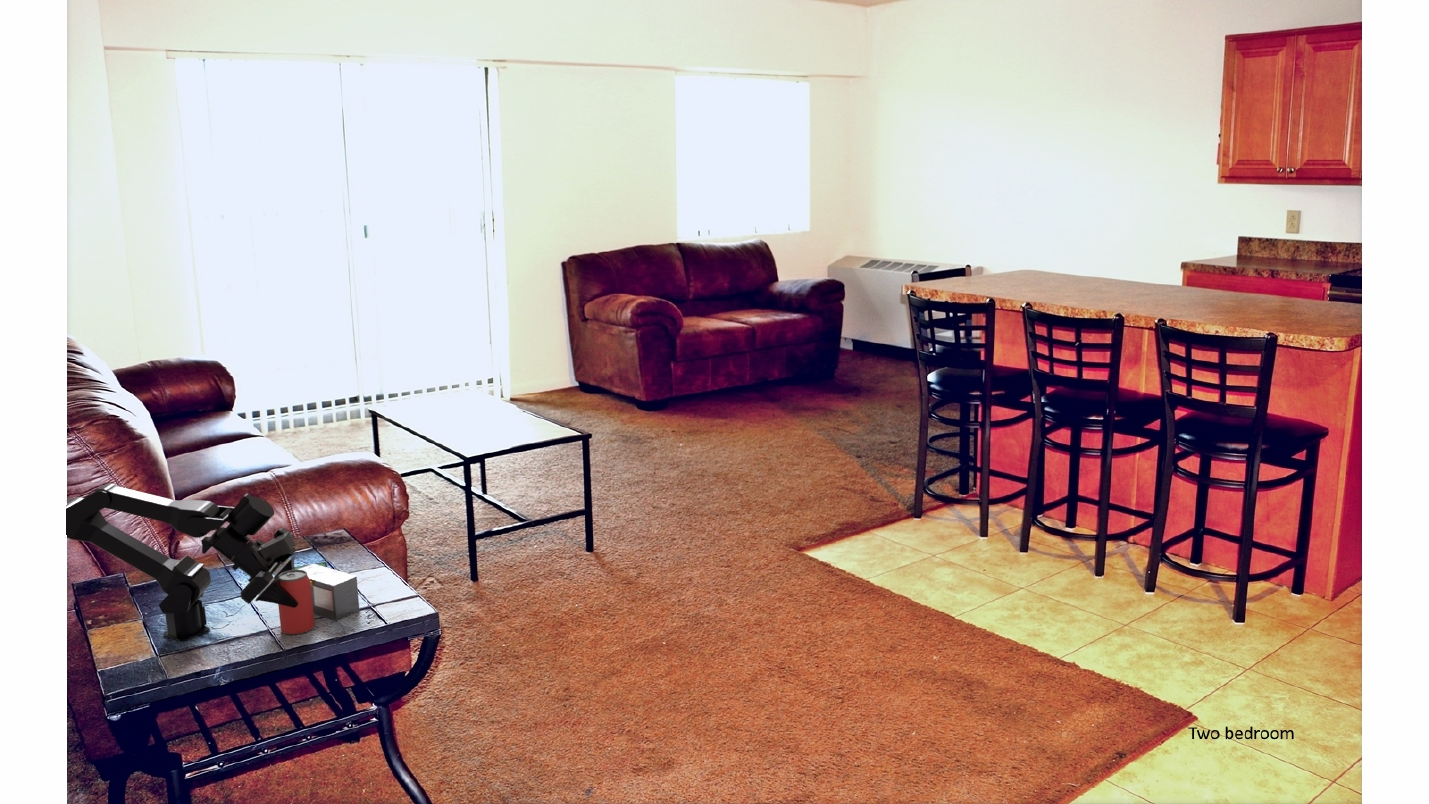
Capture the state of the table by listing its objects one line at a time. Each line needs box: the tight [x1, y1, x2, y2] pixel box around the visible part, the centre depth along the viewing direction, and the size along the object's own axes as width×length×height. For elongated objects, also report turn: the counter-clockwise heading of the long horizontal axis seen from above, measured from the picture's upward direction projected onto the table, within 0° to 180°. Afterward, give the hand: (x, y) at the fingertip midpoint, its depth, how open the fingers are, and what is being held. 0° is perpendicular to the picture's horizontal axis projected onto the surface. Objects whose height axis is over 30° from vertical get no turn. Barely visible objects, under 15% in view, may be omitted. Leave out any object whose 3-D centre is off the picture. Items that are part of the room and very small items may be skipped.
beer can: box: [277, 570, 316, 636], centre depth 219 cm, size 7×7×12 cm
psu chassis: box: [298, 563, 361, 622], centre depth 228 cm, size 6×14×8 cm, turn 58°
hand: (302, 598), depth 219 cm, fingers closed on beer can, 6 cm apart
